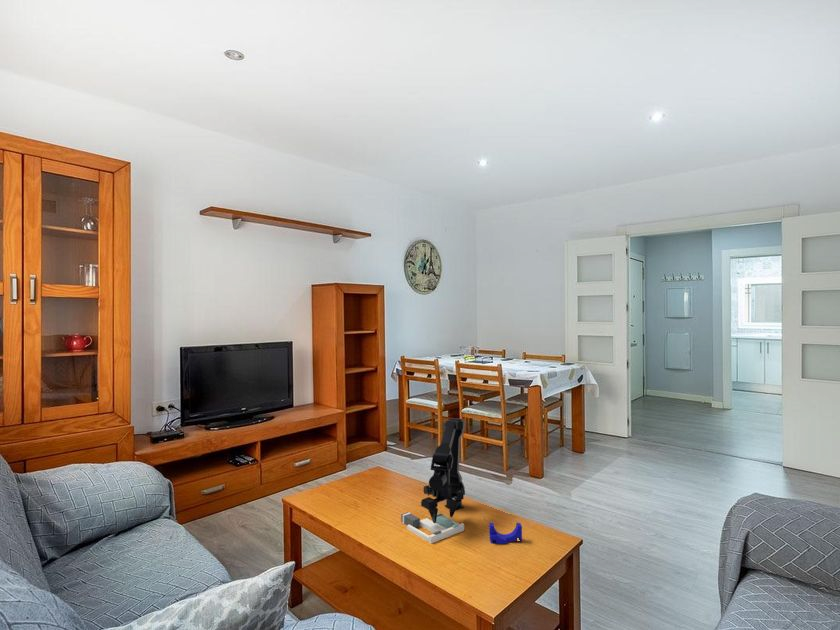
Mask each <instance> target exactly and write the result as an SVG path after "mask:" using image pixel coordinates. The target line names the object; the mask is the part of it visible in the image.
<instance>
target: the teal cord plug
mask: <svg viewBox="0 0 840 630" xmlns="http://www.w3.org/2000/svg"><path fill="white" fill-rule="evenodd" d="M452 521H453V519H452V518H451V517H448V516H447V515H444V514H443V513H439V512H438V513H437V519H436V523H437V524H439V525H441V526H443V527H444V528H446V529H448V528H450V527H452Z"/></svg>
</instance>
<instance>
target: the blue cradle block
mask: <svg viewBox="0 0 840 630" xmlns="http://www.w3.org/2000/svg"><path fill="white" fill-rule="evenodd" d="M488 528H489V535H488V536H489V537H488V538H489V540H490V541H489V542H490V544H494V545H507V544H508V543H513V542H512V541H517V538H519V540H520V541H522V542H523V525H522V523H521V522H516V523H515V528H514V529H513V530H512V531H511V532H510V533H506V534H503V533H500V532H499V531H498V530H497V529H496V528H495V524H494V522H489V523H488Z"/></svg>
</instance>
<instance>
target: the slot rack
mask: <svg viewBox="0 0 840 630" xmlns="http://www.w3.org/2000/svg"><path fill="white" fill-rule="evenodd" d="M420 527H422V528H423V529H425V530H428V531H429V532H431V534H430V535H429V534H427V533H425V532H424V531H421V530H420V529H418V528H415V527H413V526H411V525H406V529H407V530H408V531H409V532H411V533H413V534H414V535H416V536H418V537H419V538H421V539H423V540H424V541H426V542H428V543H430V544H434V543H436V542H439V541H441V540H443V539H446V538H449V537H452V536H454V535H456V534H459V533H461V532H464V531H465V524H464V523H463V522H461V523H458V522H456V521H454V520H452V527H450V528H448V529H446V528H444V527H443V526H441V525H439V524H437V523H433V521H432V519H429V518H428V517H426V518H423V519H420Z"/></svg>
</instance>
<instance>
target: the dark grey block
mask: <svg viewBox="0 0 840 630" xmlns="http://www.w3.org/2000/svg"><path fill="white" fill-rule="evenodd" d="M400 515H401V517H400V521H401V523H402V524H404V525H405V526H407V525H411V526H413V527H415V528H416V529H418V528H419V527H421V526H420V520H421V519H420V518H421V517H418V516H416V515H414V514H413V513H411V512H409V511H407V512H403V513H401V514H400Z"/></svg>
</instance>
